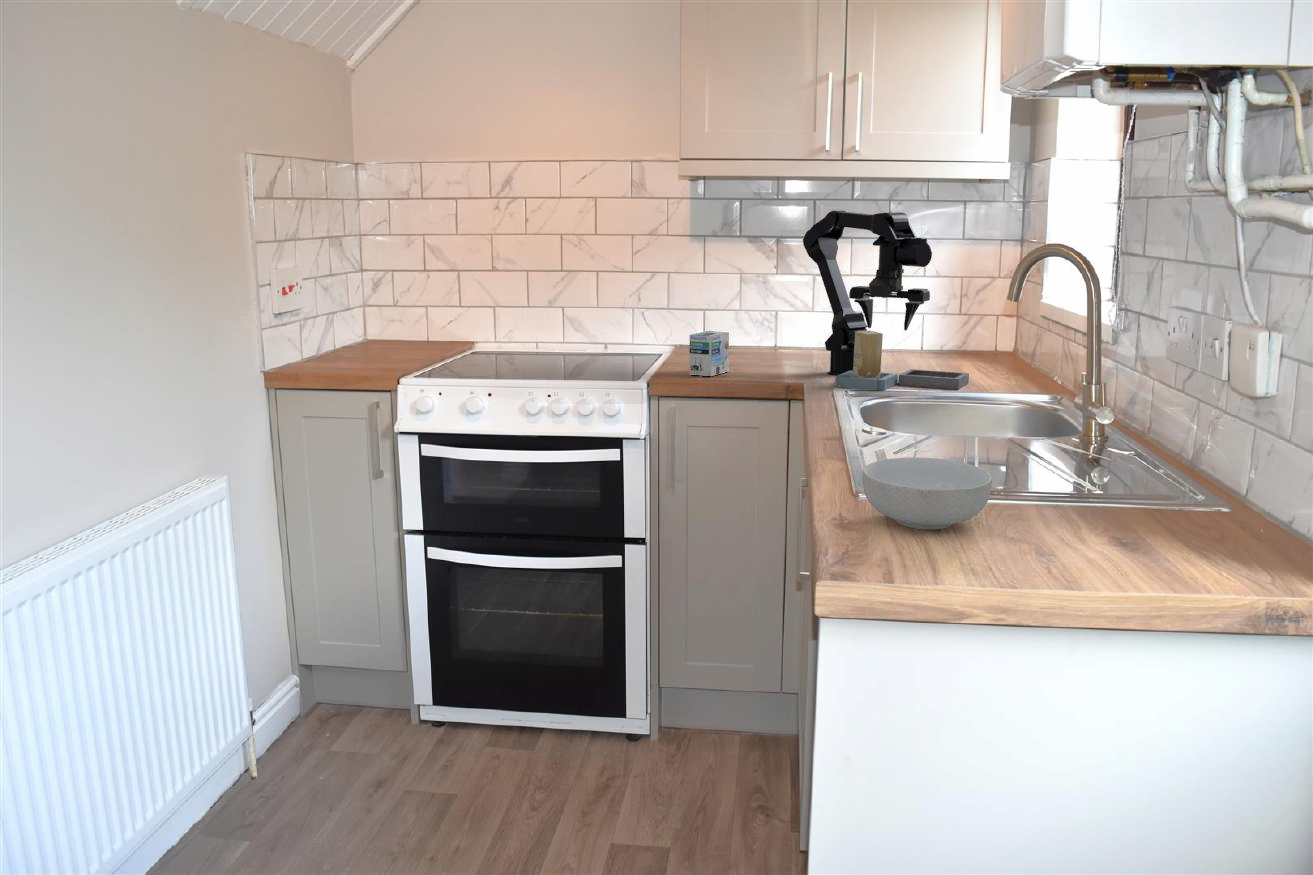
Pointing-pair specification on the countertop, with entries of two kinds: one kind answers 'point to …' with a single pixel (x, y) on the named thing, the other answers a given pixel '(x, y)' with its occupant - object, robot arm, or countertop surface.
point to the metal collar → (934, 379)
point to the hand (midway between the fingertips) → (887, 329)
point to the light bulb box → (709, 353)
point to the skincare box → (867, 354)
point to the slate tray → (866, 381)
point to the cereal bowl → (926, 491)
